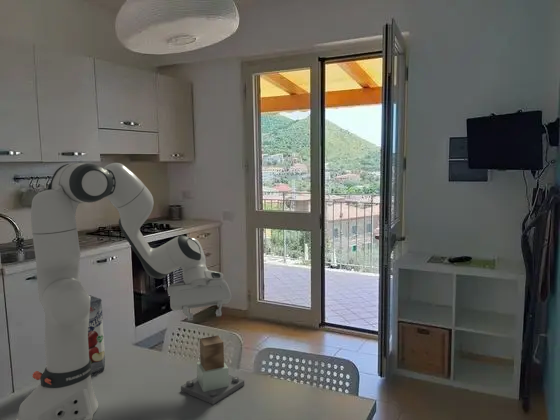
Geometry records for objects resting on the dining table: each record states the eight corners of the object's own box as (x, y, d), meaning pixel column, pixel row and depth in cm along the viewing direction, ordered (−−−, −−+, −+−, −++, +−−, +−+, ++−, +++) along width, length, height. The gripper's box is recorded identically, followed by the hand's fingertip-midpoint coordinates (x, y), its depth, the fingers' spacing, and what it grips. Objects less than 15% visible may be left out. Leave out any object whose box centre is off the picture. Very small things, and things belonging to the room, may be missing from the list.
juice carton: (66, 374, 149) (60, 297, 147) (95, 363, 157) (91, 289, 155) (78, 382, 144) (73, 302, 141) (108, 370, 152) (104, 294, 149)
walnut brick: (205, 370, 134) (204, 345, 133) (200, 363, 140) (199, 338, 139) (224, 367, 137) (223, 342, 136) (218, 359, 142) (218, 335, 141)
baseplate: (213, 404, 129) (212, 380, 128) (180, 390, 137) (180, 367, 137) (244, 384, 140) (243, 362, 140) (212, 373, 149) (212, 351, 148)
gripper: (167, 279, 144) (173, 317, 136) (227, 272, 153) (236, 308, 145) (165, 289, 149) (171, 326, 141) (224, 282, 157) (232, 317, 149)
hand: (205, 317), depth 143 cm, fingers open, 8 cm apart
